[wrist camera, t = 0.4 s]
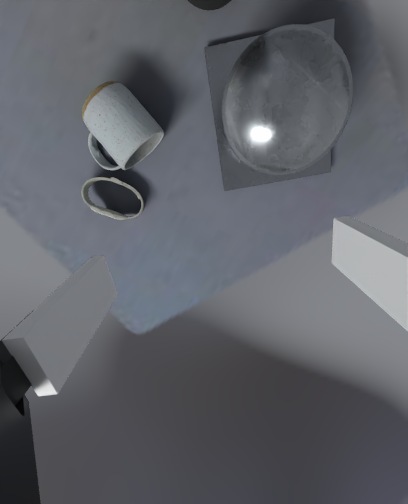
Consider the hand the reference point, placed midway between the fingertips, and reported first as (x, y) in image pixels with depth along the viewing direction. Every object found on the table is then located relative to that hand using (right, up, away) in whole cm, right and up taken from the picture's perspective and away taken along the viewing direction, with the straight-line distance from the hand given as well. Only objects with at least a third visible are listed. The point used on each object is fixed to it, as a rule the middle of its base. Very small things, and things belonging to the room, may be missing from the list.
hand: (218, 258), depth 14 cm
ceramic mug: (-12, +17, +22) cm, 30 cm away
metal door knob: (+9, +20, +20) cm, 30 cm away
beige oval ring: (-15, +10, +25) cm, 31 cm away
